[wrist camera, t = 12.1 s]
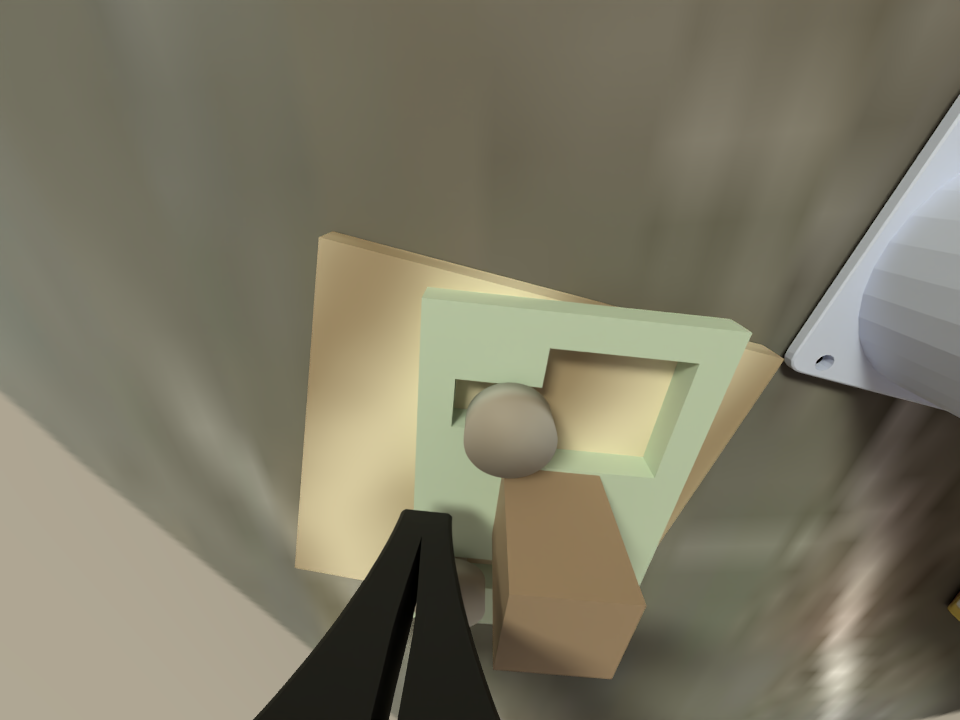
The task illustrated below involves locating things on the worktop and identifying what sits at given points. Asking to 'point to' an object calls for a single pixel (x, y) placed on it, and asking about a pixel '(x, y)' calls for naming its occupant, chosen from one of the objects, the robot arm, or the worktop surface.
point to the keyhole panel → (562, 470)
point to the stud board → (456, 405)
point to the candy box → (955, 607)
